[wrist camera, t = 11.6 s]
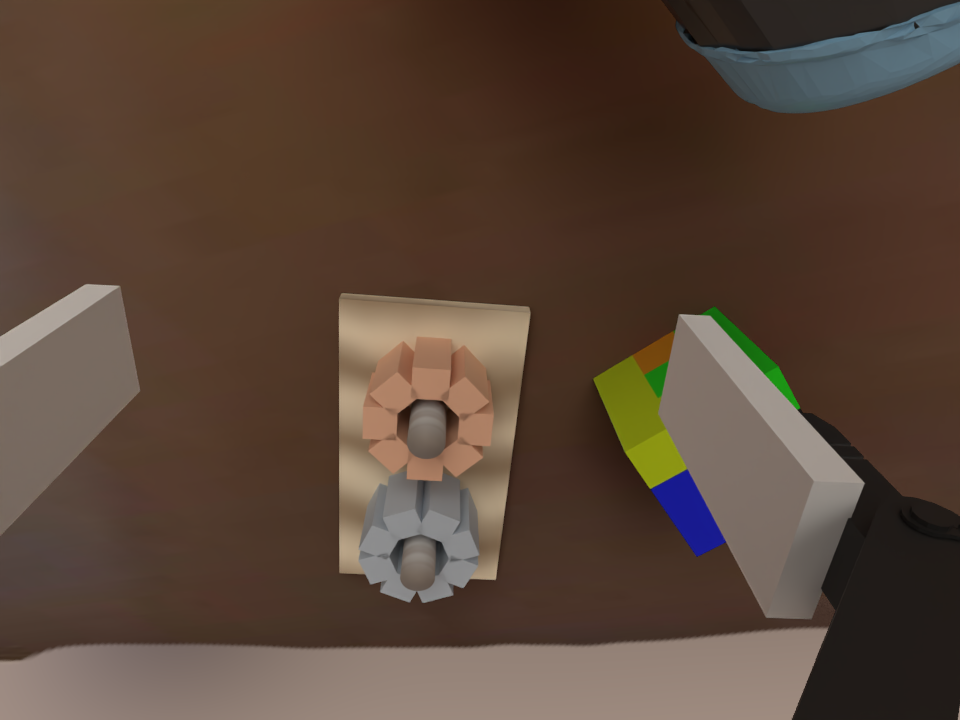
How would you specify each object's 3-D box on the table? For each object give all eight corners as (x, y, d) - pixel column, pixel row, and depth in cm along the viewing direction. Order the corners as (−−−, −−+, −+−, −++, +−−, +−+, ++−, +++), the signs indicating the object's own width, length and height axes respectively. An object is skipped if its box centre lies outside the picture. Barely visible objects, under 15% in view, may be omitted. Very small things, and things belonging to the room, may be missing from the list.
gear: (352, 486, 49) (342, 529, 45) (456, 456, 49) (456, 497, 44) (391, 565, 53) (385, 613, 48) (488, 539, 52) (491, 585, 48)
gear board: (341, 293, 44) (318, 339, 37) (528, 306, 45) (543, 354, 38) (341, 562, 54) (323, 642, 47) (494, 569, 55) (501, 648, 48)
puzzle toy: (654, 469, 51) (696, 556, 42) (592, 378, 48) (624, 452, 39) (769, 406, 49) (840, 484, 40) (714, 306, 46) (778, 366, 37)
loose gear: (373, 333, 44) (363, 364, 40) (494, 341, 45) (498, 373, 40) (370, 437, 48) (361, 476, 43) (483, 444, 48) (485, 483, 44)
